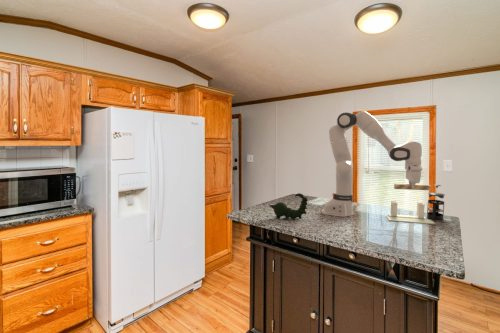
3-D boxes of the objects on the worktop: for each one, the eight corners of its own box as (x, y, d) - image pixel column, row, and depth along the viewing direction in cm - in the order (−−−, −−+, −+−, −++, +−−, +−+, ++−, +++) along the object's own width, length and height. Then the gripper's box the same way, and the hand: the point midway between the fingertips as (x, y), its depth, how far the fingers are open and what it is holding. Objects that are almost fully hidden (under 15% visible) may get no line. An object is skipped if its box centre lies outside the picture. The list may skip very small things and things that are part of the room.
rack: (389, 216, 183) (390, 202, 182) (388, 214, 188) (388, 200, 187) (426, 219, 176) (427, 204, 175) (424, 217, 181) (424, 202, 180)
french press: (442, 222, 170) (444, 186, 168) (424, 219, 177) (426, 185, 174) (445, 218, 179) (447, 184, 176) (428, 215, 185) (430, 182, 183)
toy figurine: (304, 219, 183) (269, 215, 187) (307, 193, 181) (271, 188, 185) (305, 224, 174) (267, 219, 178) (308, 195, 172) (270, 191, 176)
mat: (389, 220, 174) (389, 219, 174) (386, 217, 181) (386, 216, 181) (435, 224, 166) (435, 223, 166) (431, 220, 173) (431, 219, 173)
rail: (394, 188, 173) (395, 184, 173) (394, 188, 176) (394, 183, 176) (430, 190, 167) (430, 185, 167) (429, 189, 170) (429, 184, 169)
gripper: (403, 164, 181) (402, 185, 182) (411, 168, 161) (410, 190, 163) (414, 165, 179) (413, 185, 180) (423, 168, 159) (422, 191, 161)
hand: (411, 187), depth 171 cm, fingers closed on rail, 3 cm apart
